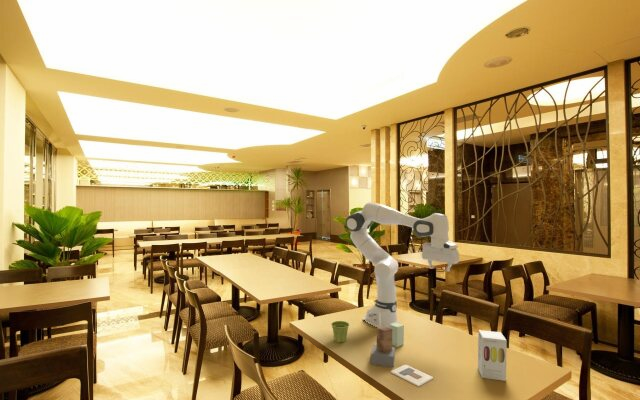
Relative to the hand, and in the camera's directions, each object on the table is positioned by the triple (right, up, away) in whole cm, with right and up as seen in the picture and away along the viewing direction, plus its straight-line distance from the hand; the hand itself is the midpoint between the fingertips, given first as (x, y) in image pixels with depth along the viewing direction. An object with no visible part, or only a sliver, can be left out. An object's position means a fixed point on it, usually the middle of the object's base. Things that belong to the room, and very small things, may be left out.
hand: (439, 269), depth 178 cm
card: (-25, -36, -38) cm, 58 cm away
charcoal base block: (-35, -37, -25) cm, 56 cm away
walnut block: (-34, -32, -24) cm, 53 cm away
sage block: (-24, -37, -7) cm, 45 cm away
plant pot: (-53, -37, -3) cm, 65 cm away
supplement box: (+9, -37, -36) cm, 53 cm away
